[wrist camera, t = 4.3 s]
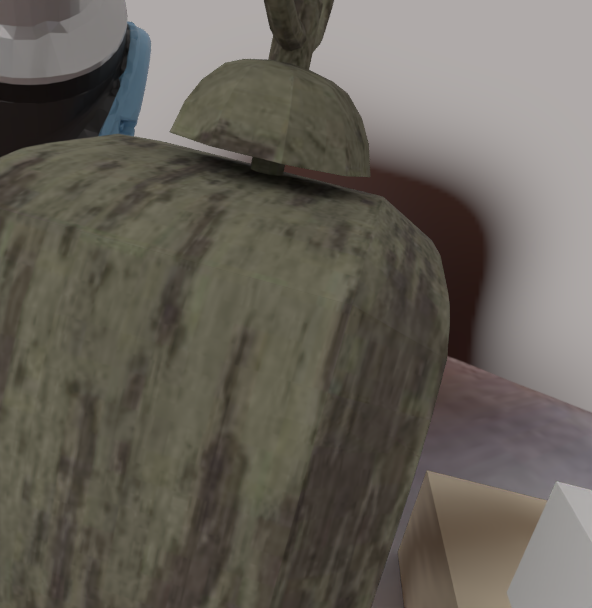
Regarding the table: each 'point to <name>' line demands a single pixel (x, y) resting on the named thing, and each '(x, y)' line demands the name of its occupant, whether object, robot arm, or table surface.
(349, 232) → the tabletop clock
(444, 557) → the maple base
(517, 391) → the table surface
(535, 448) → the table surface
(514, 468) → the table surface
